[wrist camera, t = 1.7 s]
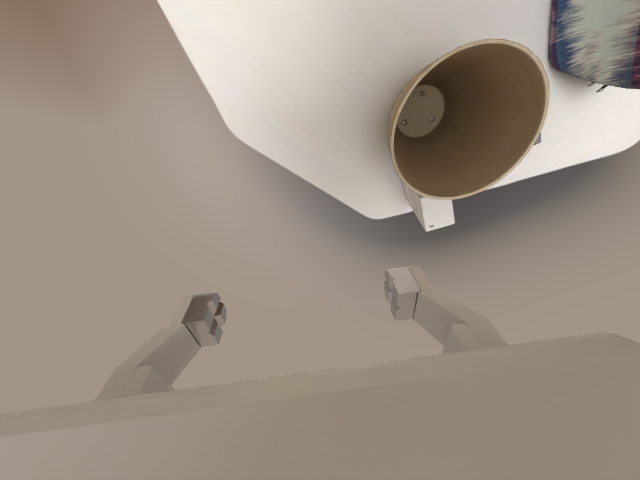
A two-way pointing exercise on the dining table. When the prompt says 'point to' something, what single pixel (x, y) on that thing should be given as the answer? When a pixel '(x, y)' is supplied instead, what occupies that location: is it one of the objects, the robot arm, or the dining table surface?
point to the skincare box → (430, 210)
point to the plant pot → (468, 119)
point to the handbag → (597, 41)
